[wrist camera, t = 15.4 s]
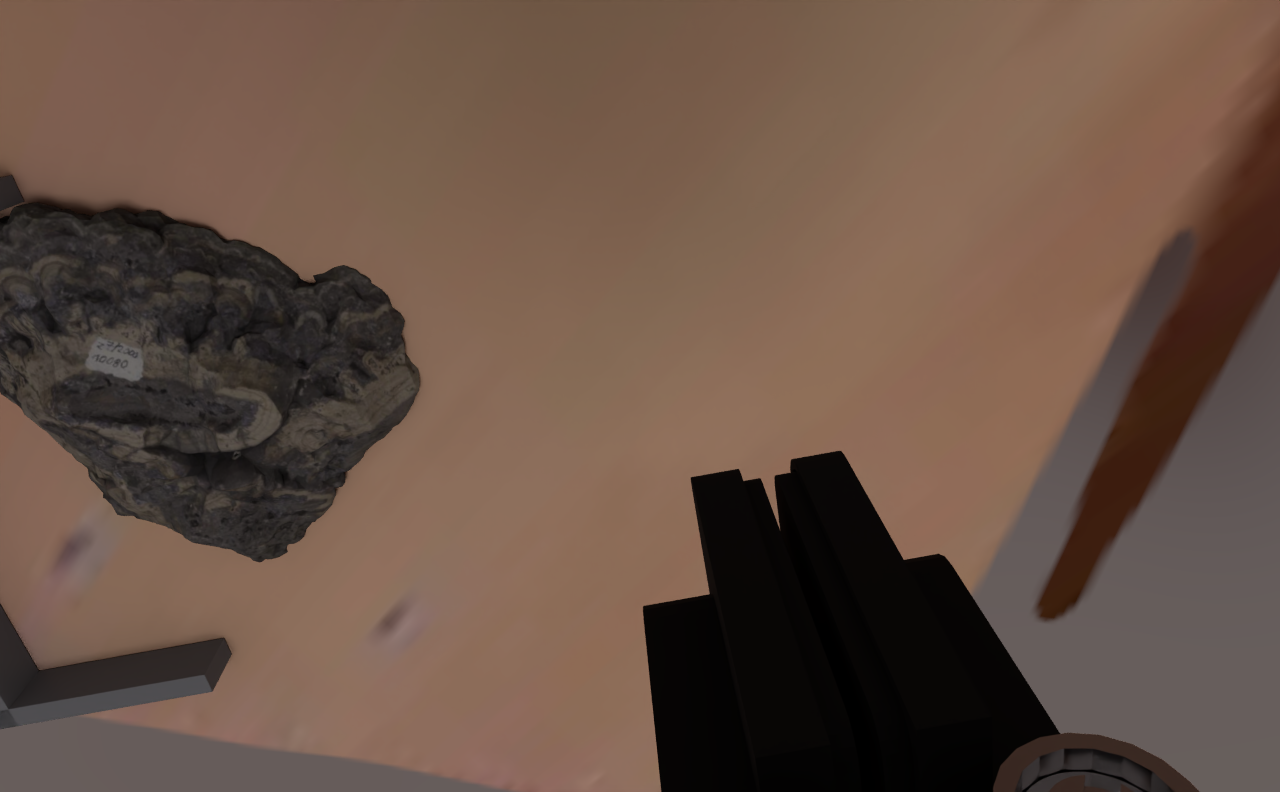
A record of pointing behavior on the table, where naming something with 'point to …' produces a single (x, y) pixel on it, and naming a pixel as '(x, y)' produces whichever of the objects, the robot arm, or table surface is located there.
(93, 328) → the grey rough rock slab
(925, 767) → the robot arm
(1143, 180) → the table surface
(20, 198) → the frame
